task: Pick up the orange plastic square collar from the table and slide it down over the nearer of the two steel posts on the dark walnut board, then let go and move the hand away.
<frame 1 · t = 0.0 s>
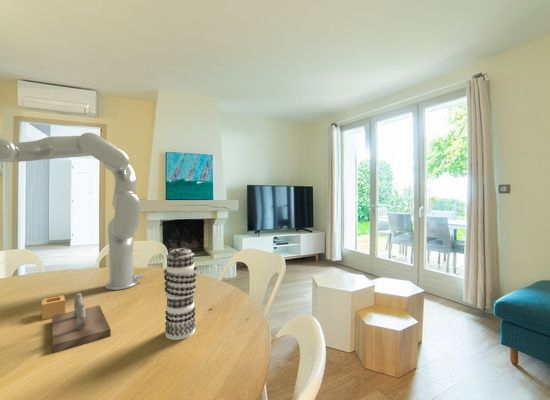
decorative candle: (180, 332, 81), on the table
post board: (79, 328, 83), on the table
collar: (53, 314, 92), on the table
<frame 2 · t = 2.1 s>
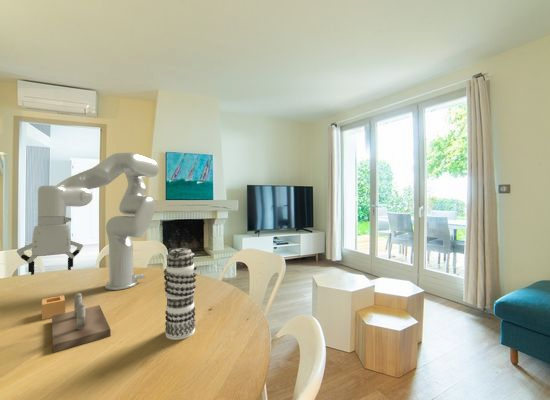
hand: (51, 271, 92), 15 cm above the table, fingers open, 9 cm apart
nothing on the table moved.
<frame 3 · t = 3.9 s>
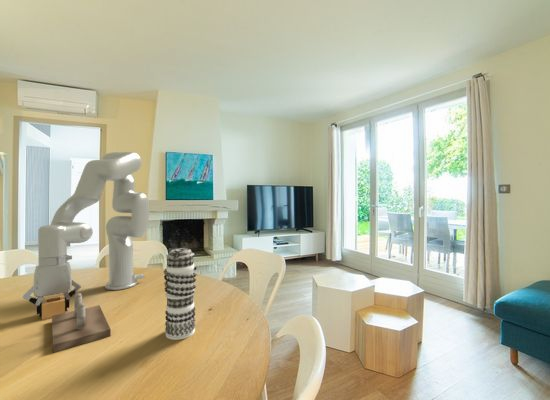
hand: (53, 312, 92), 1 cm above the table, fingers closed on collar, 5 cm apart
collar: (53, 314, 92), on the table, touching gripper
everything else where it was.
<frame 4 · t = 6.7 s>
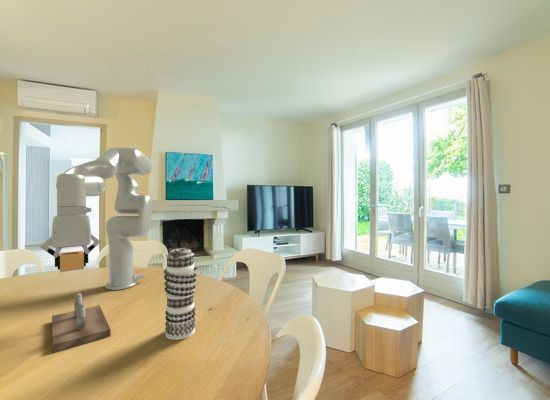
hand: (71, 266, 87), 18 cm above the table, fingers closed on collar, 5 cm apart
collar: (71, 268, 87), point 17 cm above the table, touching gripper
everything else where it was.
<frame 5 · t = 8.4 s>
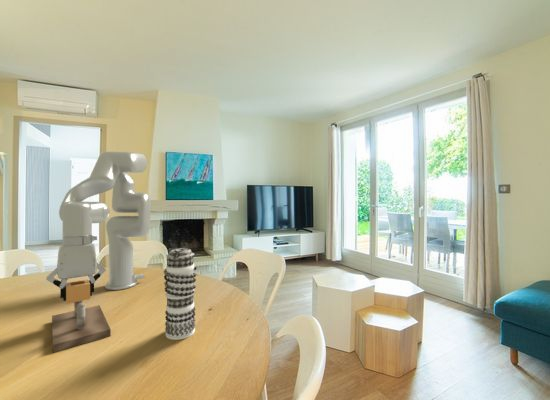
hand: (77, 296, 86), 9 cm above the table, fingers closed on collar, 5 cm apart
collar: (77, 298, 86), point 8 cm above the table, touching gripper
everything else where it was.
when the fingers open (4 cm above the table, at t = 9.8 s): collar drops 1 cm, resting on post board.
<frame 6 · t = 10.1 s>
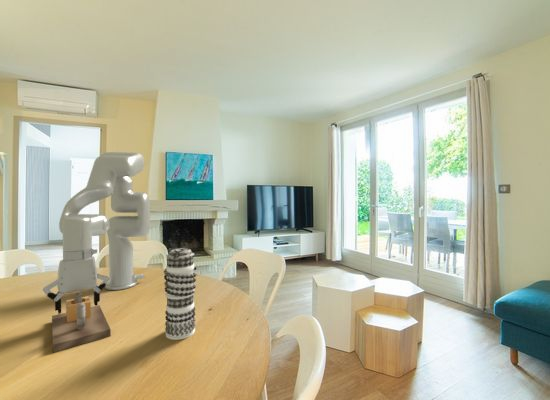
hand: (78, 308, 86), 5 cm above the table, fingers open, 9 cm apart
collar: (78, 316, 86), point 2 cm above the table, touching post board
everything else where it was.
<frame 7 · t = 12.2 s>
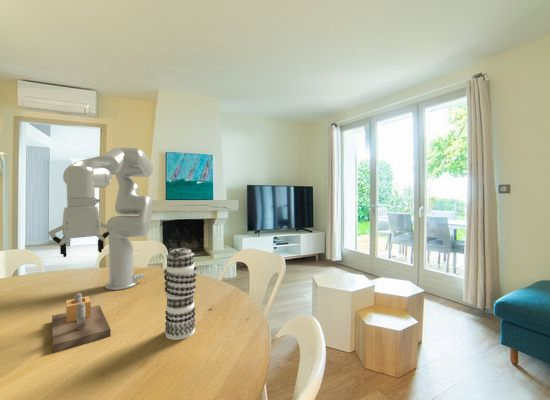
hand: (82, 253, 90), 21 cm above the table, fingers open, 9 cm apart
nothing on the table moved.
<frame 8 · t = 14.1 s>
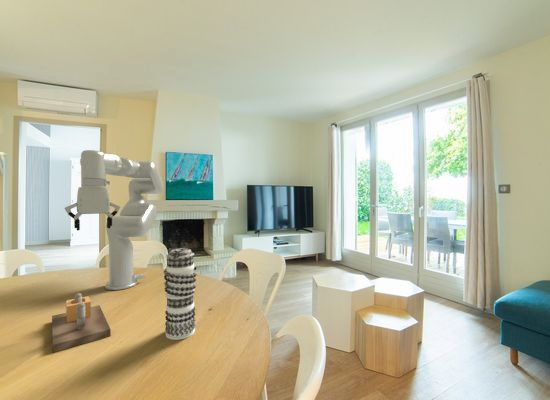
hand: (93, 229, 101), 28 cm above the table, fingers open, 9 cm apart
nothing on the table moved.
at the end: collar 0.0 cm from the target spot, point 2.0 cm above the table; the gripper is holding nothing; collar tilted 0° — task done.
